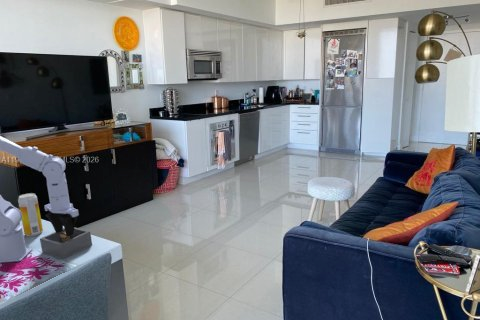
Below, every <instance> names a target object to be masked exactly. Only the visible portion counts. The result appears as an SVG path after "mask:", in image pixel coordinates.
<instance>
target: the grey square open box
mask: <svg viewBox="0 0 480 320" xmlns="http://www.w3.org/2000/svg"><path fill="white" fill-rule="evenodd" d="M62 232H65V228H64V227H63V231H61V232H59V233H56V232H55V231H53V232H52V233H50V234H47V235H45V236H43V237H40V238H39V243H40V246H41V247H40V248H41V252H42V253H43V254H45V255H46V254H47V255H49V256H51V257H52V256H53V257H54V258H55V257H56V258H58V259H62V260H66V259H67V258H69V257H71V256H73V255H74V254H77V253H79V252H81V251H83V250H85V249H87V248H89V247H91V246H92V245H93V241H92V234H91V231H90V230H87V229H82V228H78V227H76V226H75V227H74V234H73V235H71V239H70V240H68V241H66V242H64V243H60V242H61V238H60V233H62Z"/></svg>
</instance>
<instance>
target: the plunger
mask: <svg viewBox="0 0 480 320" xmlns="http://www.w3.org/2000/svg"><path fill="white" fill-rule="evenodd" d="M60 238H61V242H60V243H64V242H66V241H68V240H70V239H71V235H70V236H67V235H66V232H62V233H60Z"/></svg>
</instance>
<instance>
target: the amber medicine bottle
mask: <svg viewBox="0 0 480 320" xmlns="http://www.w3.org/2000/svg"><path fill="white" fill-rule="evenodd" d="M17 202H18V209H19V210H20V211H21V213H22V220H21V223H22V230H23V235H25V236H26V237H35V236H39V235H40V234H41V233H42V232H43V230H44V229H43V223H42V217H41V212H40V207H39V201H38V196H37V195H36V193H33V192H30V193H25V194H24V193H23V194H20V195H18V198H17Z"/></svg>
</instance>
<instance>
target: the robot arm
mask: <svg viewBox="0 0 480 320" xmlns="http://www.w3.org/2000/svg"><path fill="white" fill-rule="evenodd" d="M0 151H1V152H4V153H7V154H9V155H11V156H14V157H17V159H18V162H19V163H20V164H23V165H24V166H26V167H30V168H31V169H34V170H35V171H38V172H42V175H43V176H44V177H45V178H46V187H47V192H48V199H49V203H48V204H45V205H44V211H45V212H48V213H45V217H46V218H47V219H48V221H49V222H50V223H51V225H52V227H53V230H54V232H56V233H59V232H61V231H63V228H65V232H66V235H67V236H70V235H73V234H74V227H75V228H76V222H77V219H78V218H79V215H80V213H79V209H76V208H74V205H73V203H71V202H70V196H69V189H68V184H67V183H68V182H67V177H66V173H65V172H64V171H65V170H66V162H65V161H64V159H63V158H61V157H59V156H54V155H53V154H47V153H46V152H43V151H42V150H39V147H37V146H33V147H32V146H24V147H22V146H21V145H19V144H17V143H15V142H14V141H11V140H9V139H8V138H5V137H3V136H2V135H0ZM21 222H22V213H21V211H20V208H17V207H15V206H14V205H13V204H12V202H10V201H7V200H6V199H4V197H2V195H1V194H0V264H1V263H12V262H14V263H15V262H21V261H23V259H25V257H26V256H27V255H29V253H31V252H32V251H33V248H32V247H31V248H27V247H26V245H27V244H26V241H25V237H24V235H25V234H24V229H23V225H21Z"/></svg>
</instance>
